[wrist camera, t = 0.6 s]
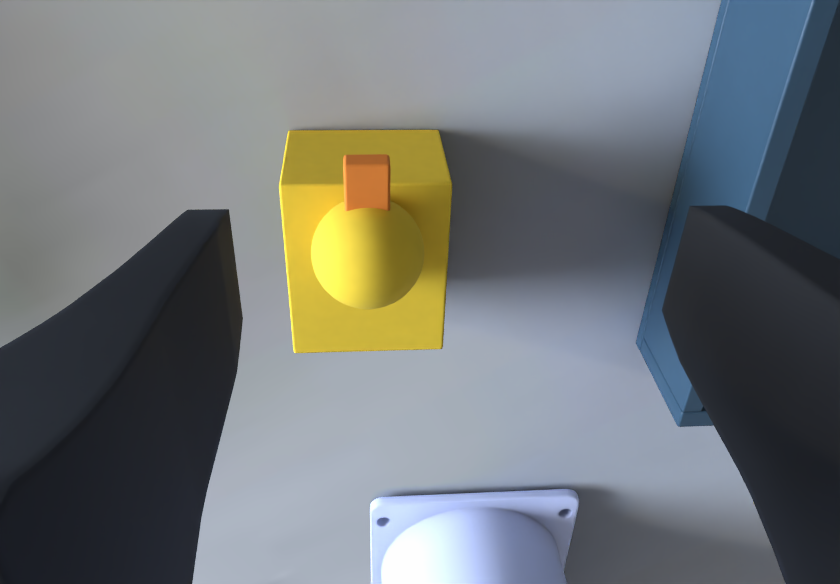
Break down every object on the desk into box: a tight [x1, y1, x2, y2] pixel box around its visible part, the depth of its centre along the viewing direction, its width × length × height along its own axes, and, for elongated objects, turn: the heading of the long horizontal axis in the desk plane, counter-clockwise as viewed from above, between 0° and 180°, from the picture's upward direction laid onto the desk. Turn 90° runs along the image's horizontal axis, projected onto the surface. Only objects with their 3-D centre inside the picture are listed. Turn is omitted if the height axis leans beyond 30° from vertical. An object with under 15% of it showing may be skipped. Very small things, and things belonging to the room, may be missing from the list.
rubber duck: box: [279, 130, 452, 353], centre depth 19 cm, size 6×4×5 cm, turn 178°
